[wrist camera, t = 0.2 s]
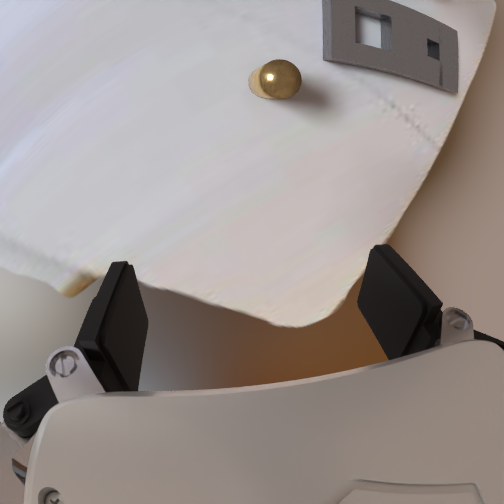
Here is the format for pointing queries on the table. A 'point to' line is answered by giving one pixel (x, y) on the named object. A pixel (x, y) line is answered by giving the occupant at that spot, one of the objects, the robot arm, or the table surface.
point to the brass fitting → (275, 80)
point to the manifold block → (393, 42)
